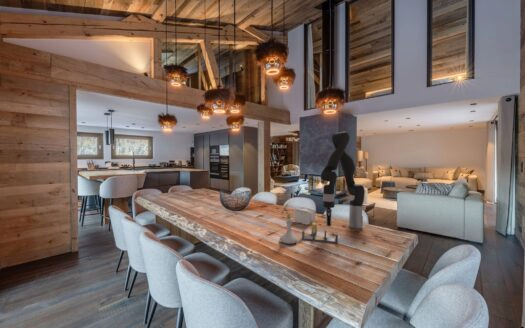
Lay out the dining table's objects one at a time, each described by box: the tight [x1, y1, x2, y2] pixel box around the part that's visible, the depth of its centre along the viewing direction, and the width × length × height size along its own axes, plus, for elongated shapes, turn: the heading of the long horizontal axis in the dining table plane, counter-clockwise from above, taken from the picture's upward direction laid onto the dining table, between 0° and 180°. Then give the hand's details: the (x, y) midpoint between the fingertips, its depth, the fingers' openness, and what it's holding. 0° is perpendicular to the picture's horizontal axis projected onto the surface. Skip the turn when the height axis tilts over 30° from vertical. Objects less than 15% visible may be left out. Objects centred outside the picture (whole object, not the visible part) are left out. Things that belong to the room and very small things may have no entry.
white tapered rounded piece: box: [279, 203, 299, 245], centre depth 143 cm, size 13×11×25 cm
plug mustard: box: [311, 222, 318, 236], centre depth 160 cm, size 4×4×7 cm
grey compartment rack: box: [301, 228, 339, 245], centre depth 148 cm, size 22×6×6 cm, turn 75°
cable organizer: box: [293, 206, 316, 226], centre depth 186 cm, size 15×11×12 cm
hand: (328, 224), depth 158 cm, fingers closed on plug white, 3 cm apart
